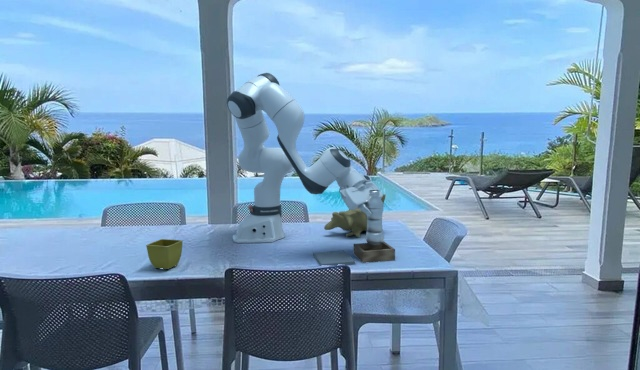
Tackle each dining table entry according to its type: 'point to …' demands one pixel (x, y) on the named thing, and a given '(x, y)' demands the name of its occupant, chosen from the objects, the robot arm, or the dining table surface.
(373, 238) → the plastic bottle
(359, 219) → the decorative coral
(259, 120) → the robot arm
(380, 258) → the walnut collar
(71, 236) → the dining table surface
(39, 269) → the dining table surface
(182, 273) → the dining table surface
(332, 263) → the rubber mat
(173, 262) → the flower pot
